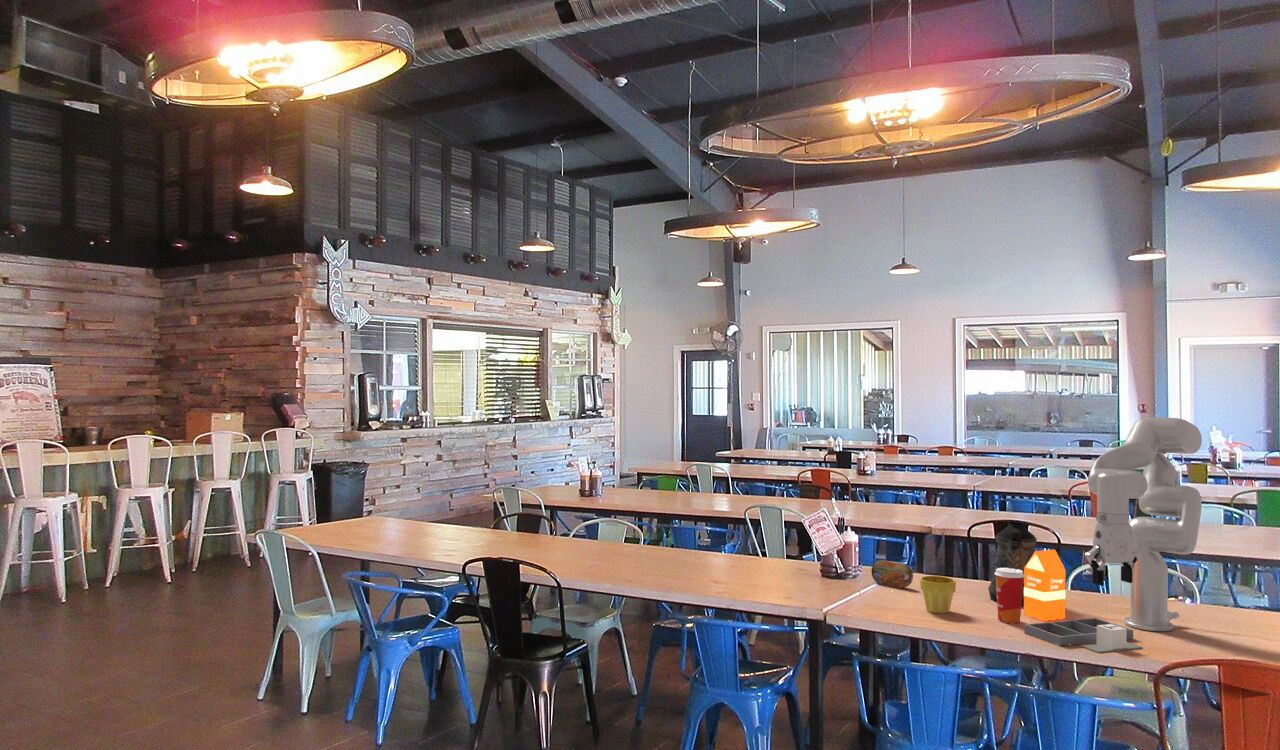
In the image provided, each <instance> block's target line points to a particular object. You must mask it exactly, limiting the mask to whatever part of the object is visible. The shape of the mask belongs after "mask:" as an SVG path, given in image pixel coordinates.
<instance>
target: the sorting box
mask: <svg viewBox="0 0 1280 750" xmlns="http://www.w3.org/2000/svg"><path fill="white" fill-rule="evenodd" d="M1107 624H1113V625H1116V626H1119V627H1122V628H1125V629H1127V637H1126V641H1127V639H1129V640H1133V639H1134V630H1133V629H1131V628H1128V627H1124V626H1122V625H1118V624H1116V623H1112V622H1108V621H1105V620H1102V619H1100V618H1098V617H1097V618H1096V617H1091V618H1082V619H1080V618H1079V619H1069V620H1059V621H1057V620H1055V621H1044V622H1035V623H1025V624H1024V634H1025V633H1027V634H1026V635H1028V634H1029V636H1031V635H1033V636H1035V637H1034V638H1036V637H1038V638H1037V639H1039V638H1041V639H1040V640H1042V639H1044V640H1046V641H1045V642H1047V641H1049V642H1048V643H1050V642H1052V643H1055V644H1058V645H1060V646H1059V647H1063V646H1062V645H1069V644H1079V645H1083V644H1082V643H1089V644H1095V643H1094V642H1097V628H1095V627H1097V625H1107ZM1073 629H1074V630H1073ZM1076 630H1077V631H1076ZM1047 631H1051V632H1047ZM1078 631H1080V632H1078ZM1052 632H1053V633H1052ZM1081 632H1083V633H1081ZM1055 633H1056V634H1055ZM1084 633H1086V634H1084ZM1058 634H1059V635H1058ZM1061 635H1062V636H1061ZM1033 636H1032V637H1033ZM1044 640H1043V641H1044ZM1052 643H1051V644H1052ZM1055 644H1054V645H1055ZM1058 645H1057V646H1058ZM1069 646H1070V645H1069Z"/></svg>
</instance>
